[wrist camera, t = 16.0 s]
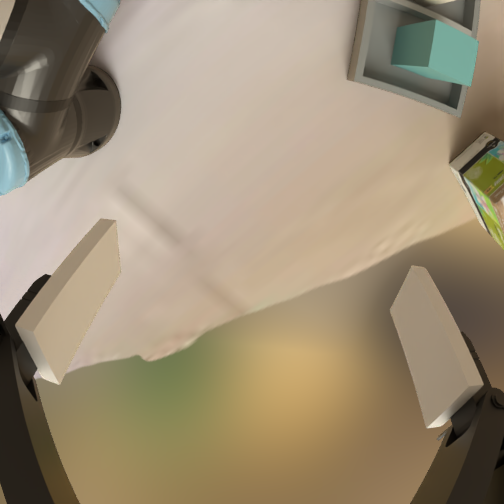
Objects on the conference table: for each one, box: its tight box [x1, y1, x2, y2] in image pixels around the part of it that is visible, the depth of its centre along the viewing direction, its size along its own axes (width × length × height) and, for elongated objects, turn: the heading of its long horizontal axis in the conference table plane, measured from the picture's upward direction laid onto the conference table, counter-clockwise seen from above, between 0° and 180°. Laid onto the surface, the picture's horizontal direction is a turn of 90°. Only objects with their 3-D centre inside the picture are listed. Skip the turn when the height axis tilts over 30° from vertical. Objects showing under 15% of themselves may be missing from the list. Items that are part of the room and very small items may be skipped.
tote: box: [347, 0, 481, 118], centre depth 31 cm, size 17×23×4 cm
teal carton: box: [390, 20, 479, 87], centre depth 29 cm, size 6×6×12 cm
